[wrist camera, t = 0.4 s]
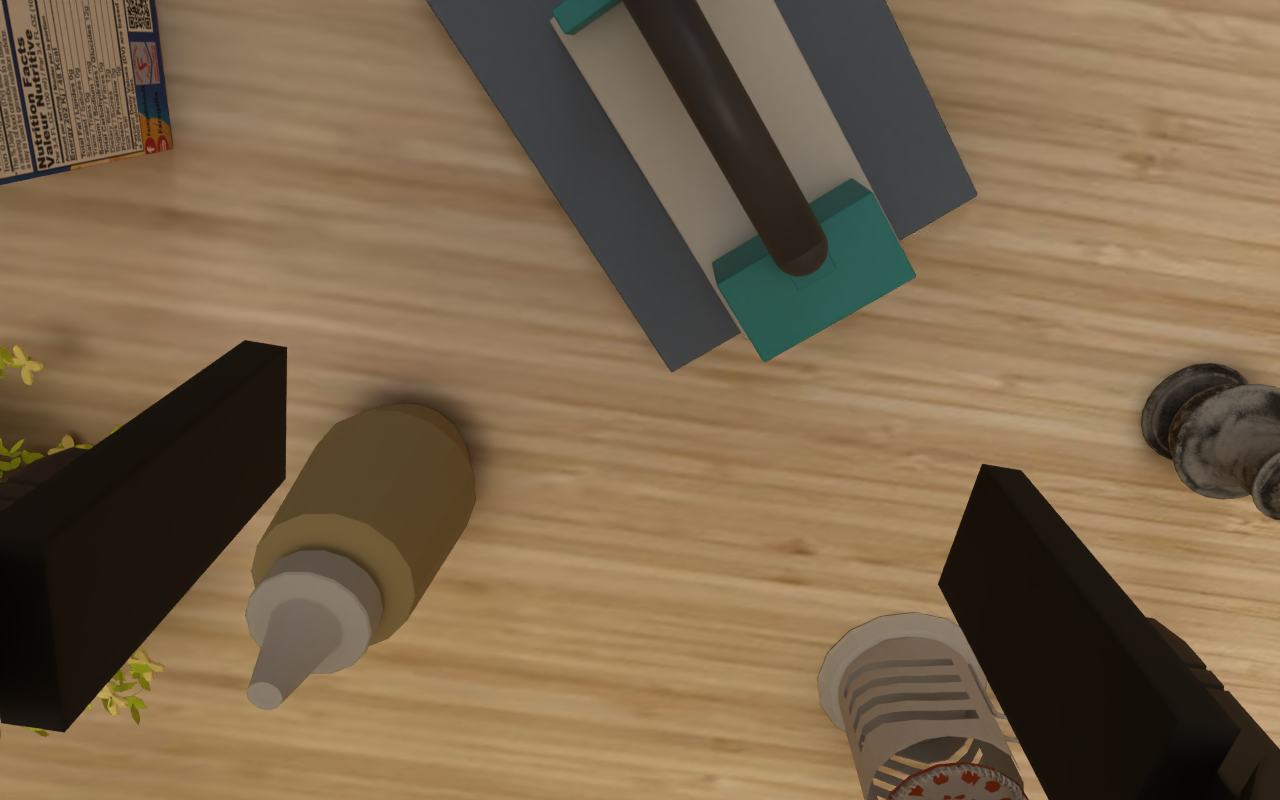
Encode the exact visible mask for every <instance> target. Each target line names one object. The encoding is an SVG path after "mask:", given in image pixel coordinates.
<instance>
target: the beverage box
mask: <svg viewBox="0 0 1280 800" xmlns="http://www.w3.org/2000/svg"><path fill="white" fill-rule="evenodd" d="M170 149H173V147H172V139H171V130H170V122H169V114H168V106H167V98H166V90H165V82H164V74H163V66H162V57H161V49H160V41H159V33H158V25H157V17H156V9H155V1H154V0H0V185H3V184H8V183H12V182H17V181H22V180H27V179H31V178H36V177H41V176H46V175H51V174H55V173H60V172H65V171H70V170H74V169H79V168H84V167H89V166H93V165H98V164H103V163H108V162H113V161H117V160H122V159H127V158H132V157H136V156H141V155H146V154H151V153H155V152H160V151H165V150H170Z"/></svg>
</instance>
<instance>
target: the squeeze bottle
mask: <svg viewBox="0 0 1280 800" xmlns="http://www.w3.org/2000/svg"><path fill="white" fill-rule="evenodd" d="M475 501H476V495H475V487H474V479H473V470H472V466H471V462H470V458H469V454H468V450H467V446H466V443H465V441H464V439H463V438H462V436H461V434H460V433H459V431H458V429H457V427H456V426H455V425H454V424H453V423H452V422H451V421H449V420H448V419H447V418H446V417H444V416H443V415H442V414H441V413H439V412H438V411H436V410H433V409H430V408H427V407H424V406H422V405H419V404H391V405H387V406H384V407H380V408H376V409H372V410H368V411H364V412H362V413H359V414H357V415H355V416H353V417H350V418H348V419H346V420H343V421H341V422H339V423H336V424H335V425H334V426H333V427H332V428H331V430H330V431H329V432H328V433H327V434H326V435H325V436H324V438H323V439H322V440H321V441H320V442H319V443H318V444H317V446H316V447H315V449H314V451H313V452H312V454H311V456H310V457H309V459H308V461H307V462H306V464H305V466H304V467H303V469H302V471H301V473H300V474H299V476H298V478H297V479H296V481H295V483H294V484H293V486H292V488H291V489H290V491H289V493H288V495H287V496H286V498H285V500H284V501H283V503H282V505H281V506H280V508H279V510H278V511H277V513H276V515H275V517H274V518H273V520H272V522H271V523H270V525H269V527H268V528H267V530H266V532H265V534H264V535H263V537H262V539H261V540H260V542H259V544H258V545H257V549H256V553H255V558H254V562H253V566H252V570H251V572H252V576H253V580H254V584H255V589H254V591H253V592H252V593H251V595H250V597H249V601H248V605H247V610H246V614H245V616H246V620H247V623H248V627H249V631H250V635H251V636H252V638H253V639H254V640H255V642H256V643H257V644H258V646H259V647H260V648H261V649H260V652H259V656H258V659H257V662H256V665H255V668H254V671H253V674H252V678H251V681H250V684H249V687H248V691H247V696H248V699H249V701H250V702H251V703H252V704H253V705H254V706H256V707H258V708H260V709H264V710H272V709H275V708H277V707H278V706H279V705H280V704H281V703H282V702H283V701H284V700H285V699H286V698H287V697H288V696H289V695H290V694H291V693H292V692H293V691H294V690H295V689H296V688H297V687H298V686H299V685H300V684H301V683H302V682H303V681H304V680H305V679H306V678H307V677H308V676H309V675H310V674H330V673H334V672H337V671H339V670H342V669H345V668H348V667H350V666H352V665H353V664H354V663H355V662H356V661H357V660H358V659H359V658H360V657H361V656H362V655H363V654H364V653H365V652H366V651H367V649H368V647H369V646H370V645H373V644H375V643H378V642H381V641H383V640H386V639H388V638H389V637H390V636H391V635H392V634H394V633H395V632H396V631H397V630H398V629H399V628H400V627H401V626H402V625H403V624H404V623H405V622H406V621H407V619H408V618H409V616H410V615H411V613H412V612H413V610H414V608H415V607H416V605H417V604H418V602H419V601H420V599H421V597H422V596H423V594H424V593H425V591H426V589H427V588H428V586H429V585H430V583H431V582H432V580H433V578H434V577H435V575H436V574H437V572H438V570H439V569H440V567H441V566H442V564H443V563H444V561H445V559H446V558H447V556H448V555H449V553H450V552H451V550H452V548H453V547H454V545H455V544H456V542H457V540H458V539H459V537H460V536H461V534H462V533H463V531H464V529H465V528H466V526H467V524H468V521H469V518H470V515H471V512H472V509H473V507H474V504H475Z"/></svg>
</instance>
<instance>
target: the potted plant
mask: <svg viewBox="0 0 1280 800" xmlns="http://www.w3.org/2000/svg"><path fill="white" fill-rule="evenodd" d="M13 352H14V355H15V356H16V357H15V356H12V355H11V353H10V352H9V351H8V350H7V349H5V348H2V347H0V373H5V372H4V370H2V369H3V368H4V367H5V365H6V364H7V365H9V366H10V367H12V368H19V367H22V366H23V367H22V372H21V377H22V379H23V381H24V382H25V383H26V384H27V385H31V384H33V382H34V379H33V372H32V371H40V370H42V369H43V365H42V364H41V363H40V362H38V361H33V360H30V359H31V358H32V357H28V356H27V355H26V353H25V351H24V349H23V347H22V346H21V345H15V346H14V347H13ZM24 365H25V366H24ZM7 377H8V376H7V375H0V379H2V378H7ZM121 427H122V426H119V425H117V428H116V429H115V430H114V431H112V432H111V433H110V435H111V434H112V433H114V432H115V431H116V430H118V429H119V428H121ZM23 441H24V439H23V440H21V441H19V442H17V443H16V444H15V445H14V446H13V447H12V449H11V450H10V452H8V450H7V449H6V448H5V447H3V444H2V439H1V438H0V455H5V456H11V457H16V456H18V455H19V454H21V451H17V452H15V451H16V450H17V449H18V448H19V447H20V446H21V444H22V443H23ZM62 444H63V445H62ZM62 444H61V442H60V443H59V445H58V446H57V448H53V449H50V450H49V451H48V455H51V454H54V453H57V452H60V451H62V450H65V449H68V448H71V447H74V441H73V439H72V438H71V436H69V435H64V436H63V437H62ZM75 447H77V448H83V449H91V448H92V447H94V446H92V445H91V444H83V445H79V444H78V445H77V446H75ZM14 452H15V453H14ZM12 453H14V454H12ZM10 454H12V455H10ZM21 457H22V460H23V461H24V462H25V463H26V464H30V463H32V461H33V460H34V461H35V460H37V459H40V458H43V457H45V456H43V455H41V454H39V453H28V452H27V451H26V450H23V452H22V454H21ZM20 459H21V458H14V459H13V460H12V461H11V463H9V462H3V461H0V478H1V477H2V470H4V471H8V470H11V469H16V468H17V467H18V466H19V464H20ZM19 468H21V467H19ZM23 468H24V467H23ZM134 654H135V652H134V653H133V654H132V656H134ZM132 656H131V657H130V658H129V659H128V660H127V663H128V665H130V666H131V668H132V669H133V670H131V671H128V673H130V674H132V678H133V679H136V678H138V681H139V684H140V685H141V686H142V688H143V689H145V690H148V691H150V685H149V683H148V682H151V681H152V680H153V679H154V672H153V670H154V671H155V672H162V671H163V670H164V669H165V667H164V665H162V664H160V663H157V662H154V661H151V660H150V658H149V657H148V654H147V653H146V651H145V650H143V649H140V650H139V651H138V652H137V657H138V658H136V657H132ZM142 675H143V676H144V677H141V676H142ZM112 678H113V679H115V680H116V681H117V680H120V685H119V686H118V685H117V684H116V683H115V682H112V681H109V682H108V683H107V684H106V685H105V687H104V688H103V689H102V690H101V691H100V692H99V693H98V695H97V697H99V698H102V701H103V704H104V708H105V709H106V710H107V711H108V712H109V713H110V714H111V715H113V716H116V715H118V714H119V708H118V706H119V707H125V706H127V707H130V708H131V713H132V717H133V718H134V720H135V721H136V723H137V724H138V725H139V722H140V716H139V712H138V709H145V708H147V707H146V706H145V704H144V702H143V701H142V699H139V698H137V697H135V696H134V695H136V694H137V693H138V692H137V693H135V694H134V695H132V696H129V697H120V696H118V695H117V694H115V692H123V691H125V690H128V689H131V688H132V687H133V686H134V685H135V684H136V683H137V682H134V683H124V684H123V681H126V680H125V675H124V673H123V672H122V670H120V669H119V671H118V672H117V673H116V674H115V675H114V676H113V677H112ZM140 691H141V690H140ZM140 691H139V692H140ZM90 707H91V703H90V704H89V705H88V706H87V707H86V708H87V709H89V710H90ZM21 727H23V728H25V729H28V730H31V731H35V732H37V733H38V734H40V735H41V736H45V737H46V736H48V735H49V734H47V733H46V732H45V731H43V730H44V729H38V728H29V727H25V726H21ZM0 738H1V731H0Z"/></svg>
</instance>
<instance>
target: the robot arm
mask: <svg viewBox="0 0 1280 800" xmlns="http://www.w3.org/2000/svg"><path fill="white" fill-rule="evenodd" d="M286 394H287V347H283V346H277V345H271V344H265V343H259V342H253V341H247V340H244V341H243V342H242V343H240V344H239V345H237V346H236V347H234V348H233V349H232V350H230V351H229V352H227V353H226V354H225V355H223V356H222V357H220V358H219V359H217V360H216V361H215V362H213V363H212V364H210V365H209V366H207V367H206V368H205V369H203V370H202V371H200V372H199V373H197V374H196V375H195V376H193V377H192V378H190V379H189V380H188V381H186V382H185V383H183V384H182V385H180V386H179V387H178V388H176V389H175V390H173V391H172V392H170V393H169V394H168V395H166V396H165V397H163V398H162V399H160V400H159V401H158V402H156V403H155V404H153V405H152V406H151V407H149V408H148V409H146V410H145V411H143V412H142V413H141V414H139V415H138V416H136V417H135V418H133V419H132V420H131V421H129V422H128V423H126V424H125V425H123V426H122V427H121V428H119V429H118V430H116V431H115V432H114V433H112V434H111V435H109V436H108V437H106V438H105V439H104V440H102V441H101V442H99V443H98V444H96V445H95V446H94V447H92V448H91V449H83V448H77V447H71V448H68V449H65V450H62V451H60V452H57V453H54V454H51V455H48V456H45V457H43V458H40V459H37V460H35V461H33V462H32V463H30V464H28V465H27V466H25V467H24V468H22V469H21V470H19V471H18V472H16V473H15V474H13V475H12V476H10V477H9V478H8V480H7V482H1V483H0V719H1V723H4V724H11V725H18V726H25V727H31V728H38V729H45V730H52V731H59V732H65V731H66V730H67V729H68V728H69V727H70V726H71V724H72V723H73V722H74V721H75V720H76V719H77V718H78V716H79V715H80V714H81V713H82V712H83V711H84V709H85V708H86V707H87V706H88V705H89V704H90V703H91V701H92V700H93V699H94V698H95V697H96V696H97V695H98V693H99V692H100V691H101V690H102V689H103V688H104V687H105V685H106V684H107V683H108V682H109V681H110V680H111V679H112V677H113V676H114V675H115V674H116V673H117V672H118V671H119V669H120V668H121V667H122V666H123V665H124V664H125V662H126V661H127V660H128V659H129V658H130V657H131V656H132V654H133V653H134V652H135V651H136V650H137V649H138V648H139V646H140V645H141V644H142V643H143V642H144V641H145V640H146V638H147V637H148V636H149V635H150V634H151V633H152V632H153V630H154V629H155V628H156V627H157V626H158V625H159V623H160V622H161V621H162V620H163V619H164V618H165V617H166V615H167V614H168V613H169V612H170V611H171V610H172V609H173V607H174V606H175V605H176V604H177V603H178V602H179V601H180V599H181V598H182V597H183V596H184V595H185V594H186V593H187V591H188V590H189V589H190V588H191V587H192V586H193V584H194V583H195V582H196V581H197V580H198V579H199V578H200V576H201V575H202V574H203V573H204V572H205V571H206V570H207V568H208V567H209V566H210V565H211V564H212V563H213V562H214V560H215V559H216V558H217V557H218V556H219V555H220V554H221V552H222V551H223V550H224V549H225V548H226V547H227V546H228V544H229V543H230V542H231V541H232V540H233V539H234V537H235V536H236V535H237V534H238V533H239V532H240V531H241V529H242V528H243V527H244V526H245V525H246V524H247V523H248V521H249V520H250V519H251V518H252V517H253V516H254V515H255V513H256V512H257V511H258V510H259V509H260V508H261V507H262V505H263V504H264V503H265V502H266V501H267V500H268V498H269V497H270V496H271V495H272V494H273V493H274V492H275V490H276V489H277V488H278V487H279V486H280V485H281V484H282V482H283V481H284V480H285V479H286ZM938 585H939V587H940V589H941V591H942V593H943V595H944V597H945V599H946V601H947V603H948V605H949V606H950V608H951V610H952V612H953V614H954V616H955V618H956V620H957V622H958V624H959V626H960V628H961V630H962V632H963V634H964V636H965V638H966V640H967V642H968V644H969V645H970V647H971V649H972V651H973V653H974V655H975V657H976V659H977V661H978V663H979V665H980V667H981V669H982V671H983V673H984V675H985V677H986V679H987V681H988V682H989V684H990V686H991V688H992V690H993V692H994V694H995V696H996V698H997V700H998V702H999V704H1000V706H1001V708H1002V710H1003V712H1004V714H1005V716H1006V718H1007V719H1008V721H1009V723H1010V725H1011V727H1012V729H1013V731H1014V733H1015V735H1016V737H1017V739H1018V741H1019V743H1020V745H1021V747H1022V749H1023V751H1024V753H1025V755H1026V756H1027V758H1028V760H1029V762H1030V764H1031V766H1032V768H1033V770H1034V772H1035V774H1036V776H1037V778H1038V780H1039V782H1040V784H1041V786H1042V788H1043V790H1044V792H1045V793H1046V795H1047V797H1048V799H1049V800H1280V749H1279V748H1278V747H1277V746H1276V744H1275V743H1274V742H1273V741H1272V740H1271V739H1270V738H1269V737H1268V735H1267V734H1266V733H1265V732H1264V731H1263V730H1262V729H1261V727H1260V726H1259V725H1258V724H1257V723H1256V722H1255V721H1254V719H1253V718H1252V717H1251V716H1250V715H1249V714H1248V713H1247V712H1246V710H1245V709H1244V708H1243V707H1242V706H1241V705H1240V704H1239V702H1238V701H1237V700H1236V699H1235V698H1234V697H1233V696H1232V694H1231V693H1230V692H1229V691H1224V685H1223V684H1222V683H1221V682H1220V681H1219V680H1218V679H1217V677H1216V676H1215V675H1214V674H1213V673H1212V672H1211V671H1208V670H1206V667H1207V666H1206V665H1205V664H1204V663H1203V661H1202V660H1201V659H1200V658H1199V657H1198V656H1197V655H1196V653H1195V652H1194V651H1193V650H1192V649H1191V648H1190V647H1189V646H1188V644H1187V643H1186V642H1185V641H1183V640H1182V639H1181V638H1179V637H1178V636H1177V635H1175V634H1174V633H1173V632H1171V631H1170V630H1169V629H1167V628H1166V627H1165V626H1163V625H1162V624H1161V623H1159V622H1158V621H1157V620H1155V619H1153V618H1147V617H1145V616H1144V615H1143V613H1142V612H1141V611H1140V610H1139V609H1138V608H1137V606H1136V605H1135V604H1134V603H1133V602H1132V601H1131V599H1130V598H1129V597H1128V596H1127V595H1126V593H1125V592H1124V591H1123V590H1122V589H1121V588H1120V586H1119V585H1118V584H1117V583H1116V582H1115V580H1114V579H1113V578H1112V577H1111V576H1110V575H1109V573H1108V572H1107V571H1106V570H1105V569H1104V567H1103V566H1102V565H1101V564H1100V563H1099V562H1098V560H1097V559H1096V558H1095V557H1094V556H1093V555H1092V553H1091V552H1090V551H1089V550H1088V549H1087V547H1086V546H1085V545H1084V544H1083V543H1082V542H1081V540H1080V539H1079V538H1078V537H1077V536H1076V534H1075V533H1074V532H1073V531H1072V530H1071V529H1070V527H1069V526H1068V525H1067V524H1066V523H1065V521H1064V520H1063V519H1062V518H1061V517H1060V516H1059V514H1058V513H1057V512H1056V511H1055V510H1054V509H1053V507H1052V506H1051V505H1050V504H1049V503H1048V501H1047V500H1046V499H1045V498H1044V497H1043V496H1042V494H1041V493H1040V492H1039V491H1038V490H1037V488H1036V487H1035V486H1034V485H1033V484H1032V483H1031V481H1030V480H1029V479H1028V478H1027V477H1026V475H1025V474H1024V473H1023V472H1022V471H1021V470H1016V469H1010V468H1004V467H998V466H992V465H986V464H982V466H981V468H980V471H979V474H978V476H977V479H976V482H975V485H974V487H973V490H972V493H971V495H970V498H969V501H968V504H967V506H966V509H965V512H964V515H963V517H962V520H961V523H960V525H959V528H958V531H957V534H956V536H955V539H954V542H953V544H952V547H951V550H950V553H949V555H948V558H947V561H946V563H945V566H944V569H943V572H942V574H941V577H940V580H939V583H938Z"/></svg>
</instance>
